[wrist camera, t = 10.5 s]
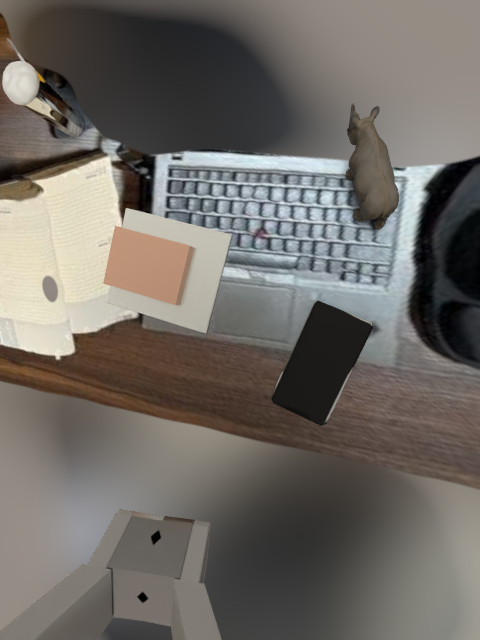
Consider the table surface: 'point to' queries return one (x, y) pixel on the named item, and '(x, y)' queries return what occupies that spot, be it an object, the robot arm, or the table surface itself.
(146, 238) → the tile
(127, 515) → the robot arm
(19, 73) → the milkshake
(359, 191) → the brown elongated animal figure
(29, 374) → the table surface
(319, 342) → the smartphone
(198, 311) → the mat
